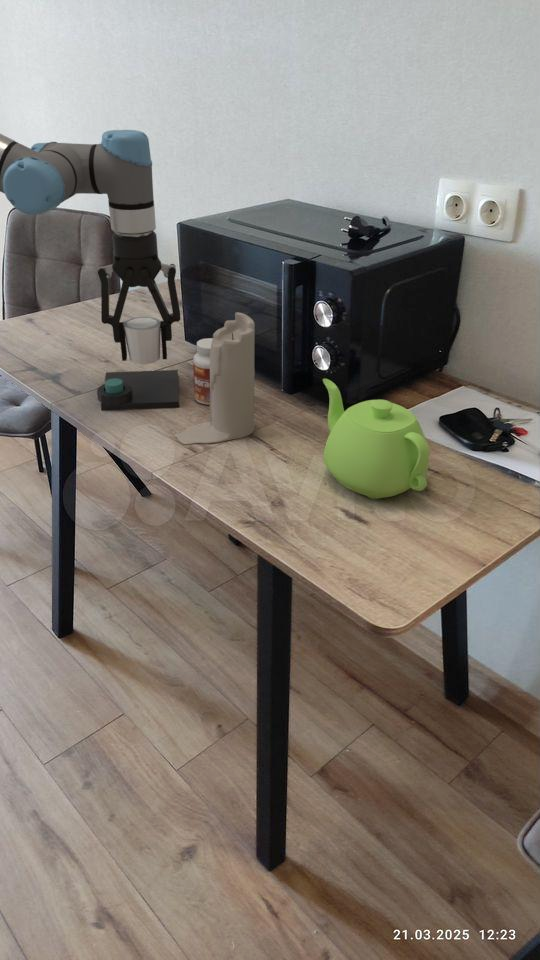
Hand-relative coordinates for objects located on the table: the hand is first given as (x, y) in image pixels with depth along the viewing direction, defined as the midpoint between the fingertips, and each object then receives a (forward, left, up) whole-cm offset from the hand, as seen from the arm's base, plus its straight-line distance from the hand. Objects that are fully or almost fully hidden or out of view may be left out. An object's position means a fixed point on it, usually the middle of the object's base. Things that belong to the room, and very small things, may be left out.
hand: (144, 357), depth 132 cm
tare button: (-6, -7, -3) cm, 10 cm away
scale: (-1, -2, -6) cm, 7 cm away
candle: (+12, -19, -6) cm, 24 cm away
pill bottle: (+12, -6, -6) cm, 15 cm away
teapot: (+35, -35, -6) cm, 50 cm away
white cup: (0, 0, 0) cm, 0 cm away
